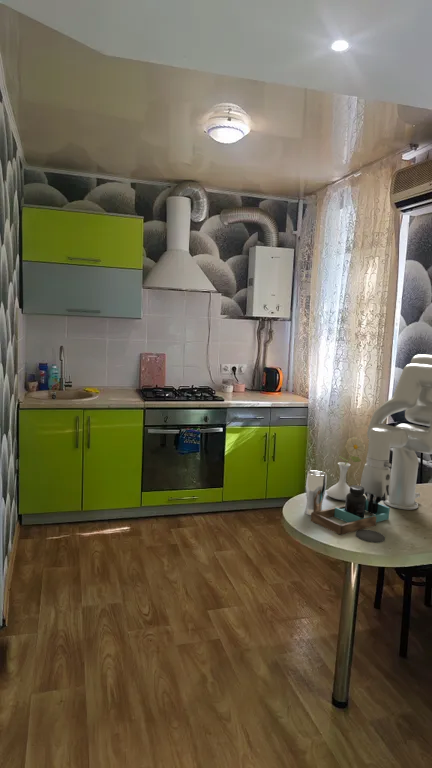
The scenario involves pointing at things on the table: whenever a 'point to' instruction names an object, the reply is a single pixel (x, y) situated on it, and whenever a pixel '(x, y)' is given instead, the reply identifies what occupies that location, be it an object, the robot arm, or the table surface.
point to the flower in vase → (346, 468)
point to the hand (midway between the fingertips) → (372, 512)
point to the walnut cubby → (340, 529)
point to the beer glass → (315, 491)
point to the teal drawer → (380, 515)
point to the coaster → (370, 536)
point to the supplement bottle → (356, 501)
